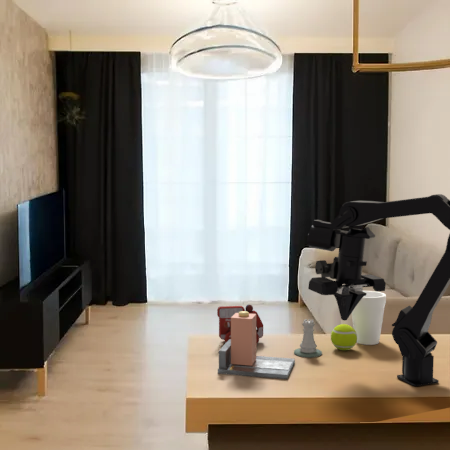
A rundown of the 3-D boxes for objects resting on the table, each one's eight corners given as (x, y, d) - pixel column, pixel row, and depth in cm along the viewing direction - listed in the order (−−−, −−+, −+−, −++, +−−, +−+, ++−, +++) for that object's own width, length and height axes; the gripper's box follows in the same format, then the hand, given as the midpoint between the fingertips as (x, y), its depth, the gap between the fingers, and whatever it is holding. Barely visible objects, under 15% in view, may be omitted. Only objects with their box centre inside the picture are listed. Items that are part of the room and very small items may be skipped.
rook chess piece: (296, 352, 155) (296, 321, 154) (303, 347, 159) (304, 317, 158) (312, 355, 153) (313, 323, 152) (320, 350, 157) (320, 319, 156)
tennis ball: (345, 355, 154) (345, 329, 154) (325, 349, 159) (325, 324, 159) (362, 350, 158) (362, 324, 158) (342, 344, 164) (342, 319, 163)
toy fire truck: (266, 345, 163) (266, 307, 162) (219, 348, 161) (219, 309, 160) (260, 338, 170) (260, 301, 169) (215, 341, 168) (215, 303, 167)
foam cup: (346, 336, 171) (347, 290, 170) (380, 336, 171) (381, 290, 170) (352, 346, 162) (353, 297, 161) (388, 346, 161) (389, 297, 160)
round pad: (327, 355, 154) (327, 353, 154) (302, 358, 151) (302, 356, 151) (312, 348, 160) (312, 346, 160) (289, 351, 158) (289, 349, 158)
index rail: (294, 362, 148) (294, 342, 148) (287, 379, 137) (287, 357, 136) (230, 357, 152) (230, 338, 152) (217, 373, 141) (217, 352, 140)
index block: (256, 359, 147) (256, 310, 146) (251, 365, 142) (251, 315, 141) (235, 357, 148) (235, 309, 147) (230, 363, 144) (230, 314, 142)
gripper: (359, 247, 154) (352, 307, 156) (297, 248, 145) (291, 312, 147) (390, 256, 144) (383, 320, 146) (326, 259, 135) (319, 327, 137)
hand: (343, 319), depth 145 cm, fingers closed
